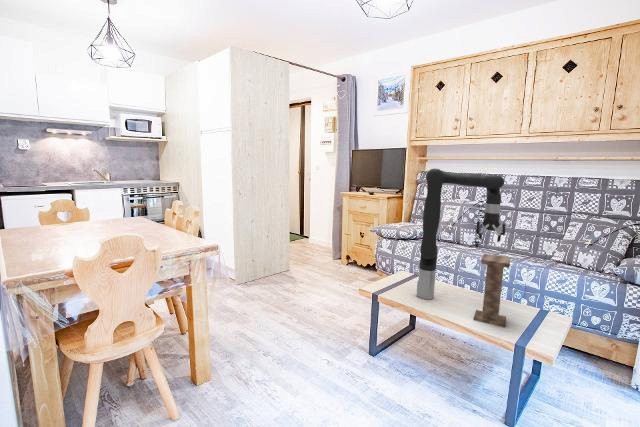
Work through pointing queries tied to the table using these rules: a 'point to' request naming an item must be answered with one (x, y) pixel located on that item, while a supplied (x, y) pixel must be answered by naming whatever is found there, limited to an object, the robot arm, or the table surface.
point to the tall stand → (493, 290)
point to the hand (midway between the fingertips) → (489, 240)
